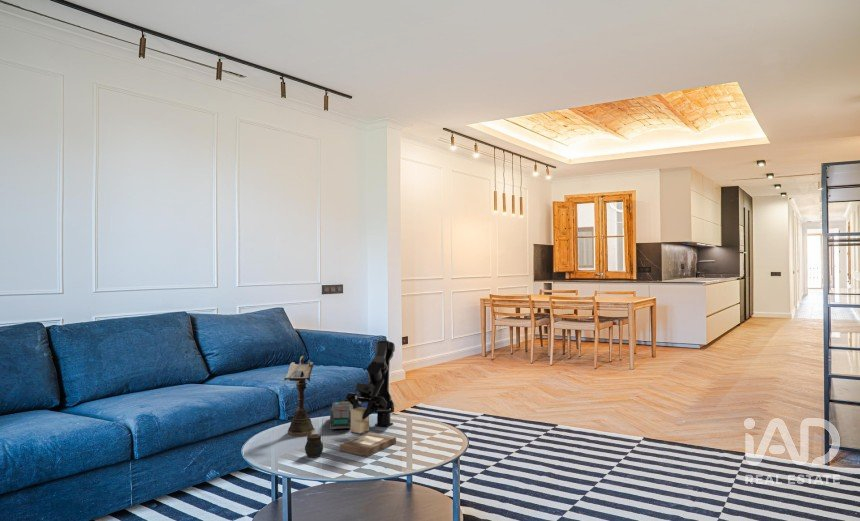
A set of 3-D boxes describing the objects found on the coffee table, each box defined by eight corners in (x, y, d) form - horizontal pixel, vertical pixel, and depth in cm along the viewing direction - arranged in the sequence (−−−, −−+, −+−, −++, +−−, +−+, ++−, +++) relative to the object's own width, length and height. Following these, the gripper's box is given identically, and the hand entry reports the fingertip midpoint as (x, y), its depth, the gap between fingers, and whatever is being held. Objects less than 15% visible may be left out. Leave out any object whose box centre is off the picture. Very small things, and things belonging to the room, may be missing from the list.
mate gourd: (321, 458, 229) (321, 433, 229) (302, 458, 229) (302, 433, 229) (324, 452, 236) (324, 428, 236) (306, 452, 236) (306, 428, 236)
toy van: (353, 417, 292) (353, 397, 292) (352, 431, 268) (352, 409, 268) (331, 418, 291) (331, 398, 291) (329, 432, 266) (329, 410, 267)
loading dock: (369, 438, 256) (369, 432, 256) (396, 443, 249) (396, 436, 249) (339, 450, 239) (339, 444, 239) (367, 456, 231) (367, 449, 232)
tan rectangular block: (359, 430, 250) (359, 406, 250) (369, 432, 247) (369, 408, 247) (350, 433, 245) (350, 409, 245) (360, 435, 242) (360, 411, 242)
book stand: (310, 440, 254) (309, 358, 254) (280, 439, 255) (280, 358, 255) (321, 429, 270) (320, 353, 271) (293, 429, 271) (293, 353, 272)
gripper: (348, 373, 254) (331, 404, 245) (383, 377, 245) (367, 409, 235) (359, 388, 261) (343, 419, 251) (394, 393, 251) (379, 424, 242)
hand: (357, 417), depth 245 cm, fingers closed on tan rectangular block, 5 cm apart
